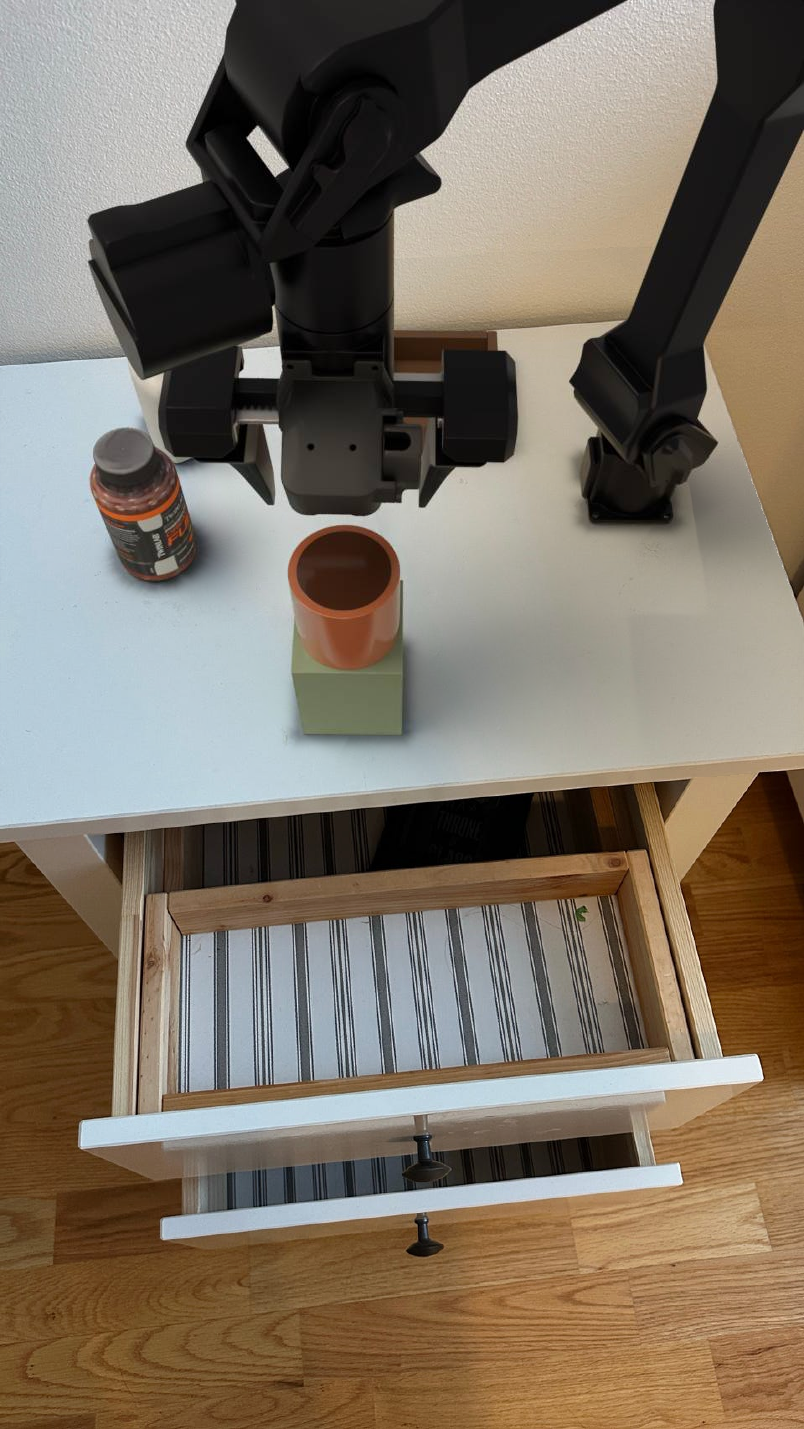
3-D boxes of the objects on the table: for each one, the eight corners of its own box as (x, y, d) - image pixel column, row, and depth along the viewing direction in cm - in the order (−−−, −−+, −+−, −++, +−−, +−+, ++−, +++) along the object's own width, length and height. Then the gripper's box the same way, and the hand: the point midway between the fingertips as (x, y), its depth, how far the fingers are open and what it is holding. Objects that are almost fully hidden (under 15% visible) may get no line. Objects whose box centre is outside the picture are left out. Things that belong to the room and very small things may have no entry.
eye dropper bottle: (204, 411, 80) (174, 291, 69) (199, 465, 78) (168, 349, 67) (150, 412, 80) (112, 291, 69) (144, 466, 78) (103, 349, 67)
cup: (399, 582, 62) (400, 524, 57) (399, 670, 60) (400, 618, 54) (299, 581, 62) (290, 523, 57) (294, 670, 60) (284, 617, 54)
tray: (493, 359, 83) (497, 330, 80) (498, 453, 78) (502, 426, 76) (373, 358, 83) (372, 329, 80) (371, 452, 78) (370, 425, 76)
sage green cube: (402, 649, 71) (403, 579, 62) (401, 735, 68) (402, 673, 60) (307, 648, 71) (296, 579, 62) (303, 734, 68) (290, 672, 59)
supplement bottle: (194, 585, 73) (162, 487, 63) (114, 583, 73) (69, 485, 63) (202, 520, 75) (173, 416, 65) (125, 518, 75) (84, 414, 65)
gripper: (110, 418, 42) (180, 610, 56) (540, 426, 43) (503, 615, 57) (143, 242, 47) (199, 459, 61) (528, 249, 47) (497, 464, 61)
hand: (346, 500), depth 60 cm, fingers open, 9 cm apart
